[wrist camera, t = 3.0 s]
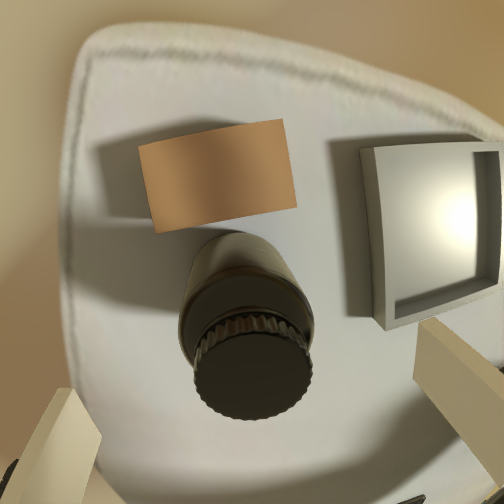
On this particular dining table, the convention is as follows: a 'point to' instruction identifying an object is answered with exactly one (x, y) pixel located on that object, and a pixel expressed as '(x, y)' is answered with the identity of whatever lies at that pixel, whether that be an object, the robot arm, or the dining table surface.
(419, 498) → the phone
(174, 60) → the dining table surface
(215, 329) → the supplement bottle
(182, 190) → the block
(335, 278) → the dining table surface
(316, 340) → the dining table surface
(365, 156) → the tray
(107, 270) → the dining table surface
